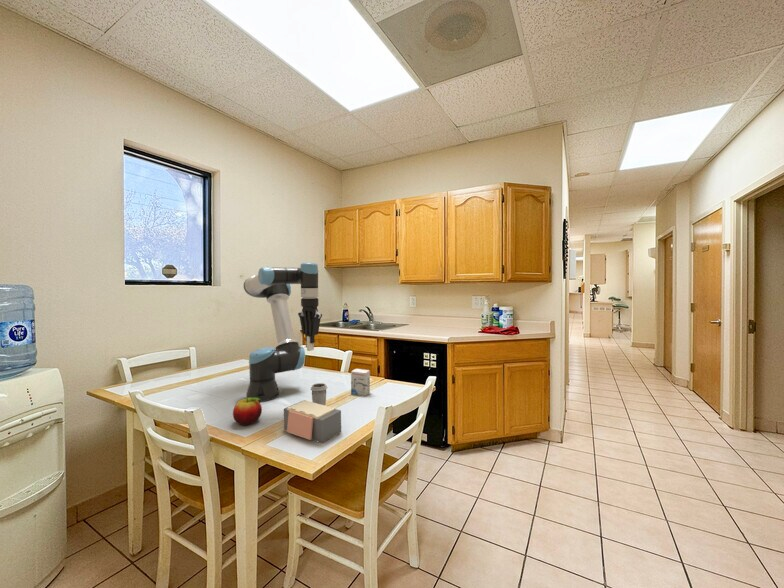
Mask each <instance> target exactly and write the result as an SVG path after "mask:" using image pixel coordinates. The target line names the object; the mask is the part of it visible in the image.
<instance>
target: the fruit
mask: <svg viewBox="0 0 784 588" xmlns="http://www.w3.org/2000/svg"><path fill="white" fill-rule="evenodd" d="M257 400H261V399H259V398H256V397H254V398H249V397H247V399H246V398H243V399H240V400H238V402H237V403H236V405H235V406H234V408H233V410H232V416H233V420H234V422H236V423H237V424H239V425H240V426H250V425H253V424H254V423H256V422H257V421H259V419H260V418H261V415H262V413H263V411H262V410H263V408H262V404H261V403H260V402H258V401H257ZM249 424H250V425H249Z"/></svg>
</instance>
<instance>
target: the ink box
mask: <svg viewBox="0 0 784 588" xmlns="http://www.w3.org/2000/svg"><path fill="white" fill-rule="evenodd" d="M370 385H371V371H370V370H369V369H363V368H354V369H353V370H351V371H350V394H351V395H357V396H363V397H367V396H368V395H369V394H370V393H371V392H370V390H371V386H370Z"/></svg>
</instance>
